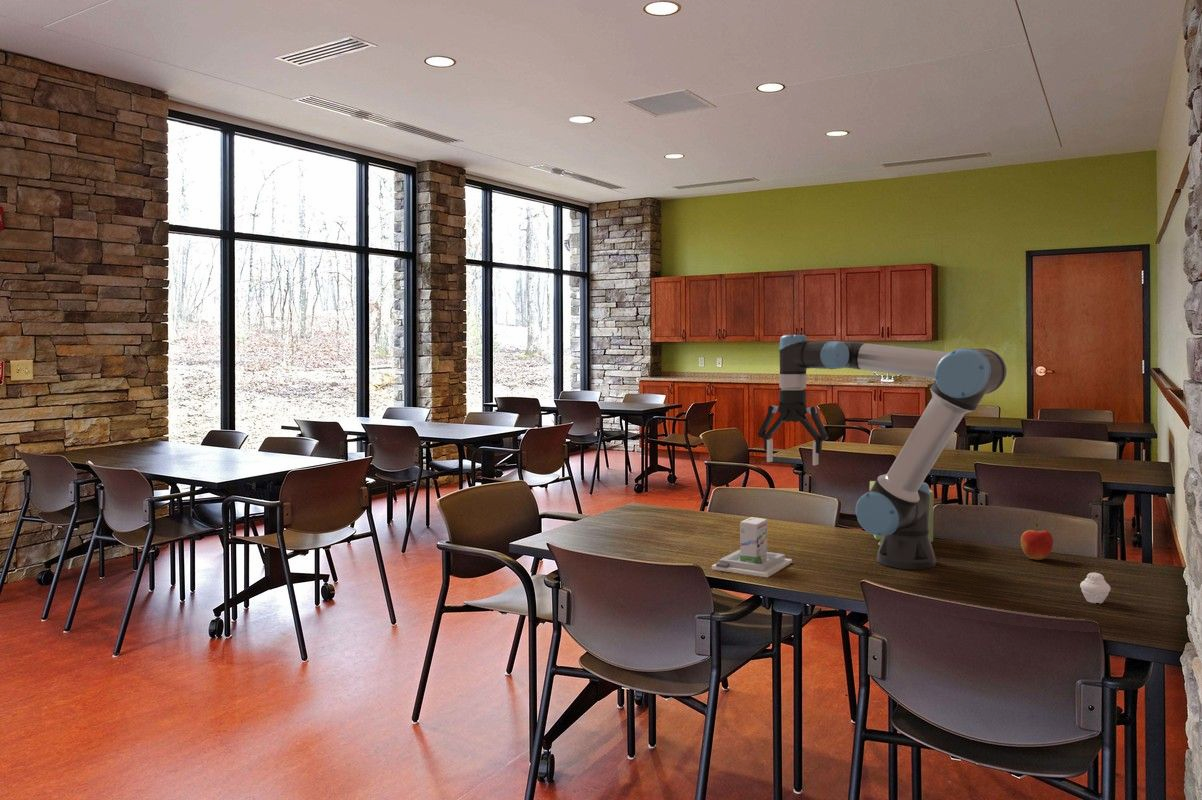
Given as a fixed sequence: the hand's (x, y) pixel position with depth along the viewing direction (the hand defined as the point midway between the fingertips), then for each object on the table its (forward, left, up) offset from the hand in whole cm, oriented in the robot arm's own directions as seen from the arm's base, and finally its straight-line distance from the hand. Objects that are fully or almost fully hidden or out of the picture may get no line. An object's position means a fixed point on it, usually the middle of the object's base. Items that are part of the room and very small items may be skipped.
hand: (792, 463), depth 244 cm
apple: (-60, -31, -27) cm, 73 cm away
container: (-22, -34, -27) cm, 49 cm away
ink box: (+5, +17, -26) cm, 31 cm away
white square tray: (+5, +17, -27) cm, 32 cm away
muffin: (-76, +6, -27) cm, 81 cm away
